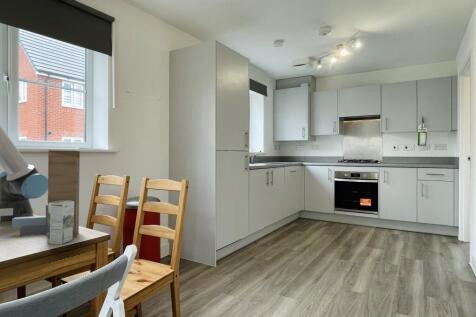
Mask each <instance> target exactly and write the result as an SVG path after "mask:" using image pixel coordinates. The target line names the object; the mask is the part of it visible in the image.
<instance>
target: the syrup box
mask: <svg viewBox="0 0 476 317" xmlns="http://www.w3.org/2000/svg"><path fill="white" fill-rule="evenodd" d="M47 204H48V203H47ZM73 229H74V201H70V200H60V201H55V202H50V203H49V204H48V236H47V237H46V238H47V242H46V243H47V244H48V245H64V244H67V243H69V242H72V241H74V238H73Z"/></svg>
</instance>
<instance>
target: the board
mask: <svg viewBox="0 0 476 317" xmlns="http://www.w3.org/2000/svg"><path fill="white" fill-rule="evenodd" d="M36 235H47V226H46V225H42V226H27V227H19V237H22V236H36Z"/></svg>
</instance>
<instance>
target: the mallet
mask: <svg viewBox="0 0 476 317" xmlns="http://www.w3.org/2000/svg"><path fill="white" fill-rule="evenodd" d="M42 225H46V226H48V203H47V204H46V205H45V215H37V216H36V215H35V216H34V215H33V216H32V217H15V218H13V219H12V220H11V228H20V227H27V226H42Z"/></svg>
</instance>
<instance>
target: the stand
mask: <svg viewBox="0 0 476 317" xmlns="http://www.w3.org/2000/svg"><path fill="white" fill-rule="evenodd" d="M47 151H48V152H47V153H48V159H47V160H48V163H47V165H48V166H47V167H48V172H47V175H48V176H47V178H48V190H47V204H49V203H50V202H55V201H60V200H70V201H74V229H73V239H76V238H77V236H78V234H79V232H80V231H79V230H80V227H79V226H80V225H79V224H80V162H81V161H80V157H81V155H80V153H81V152H80V151H79V150H52V149H51V150H47ZM46 235H47V236H48V226H47V234H46Z"/></svg>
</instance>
